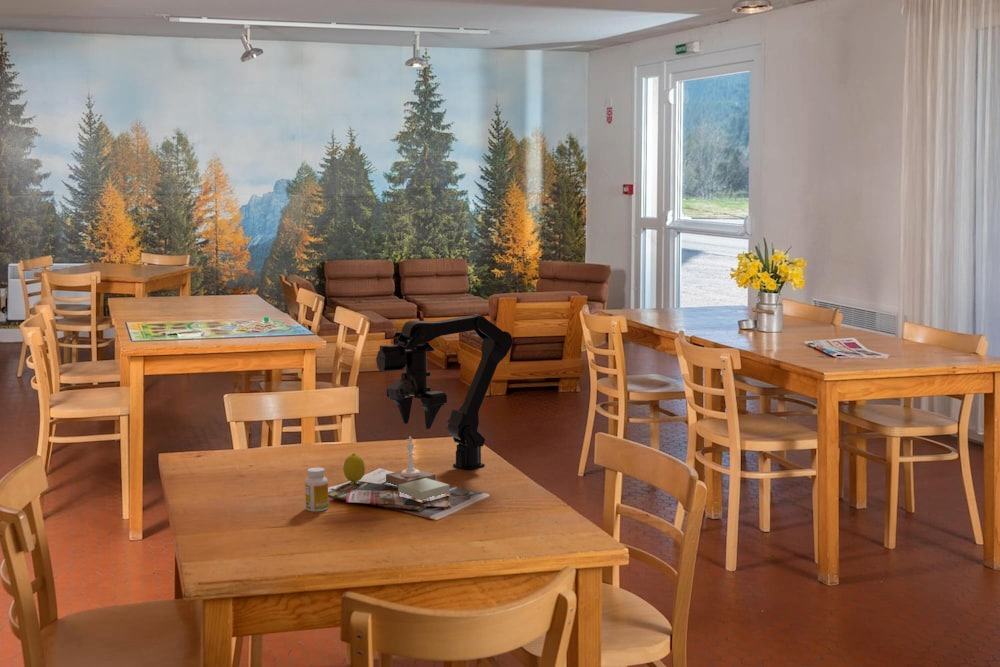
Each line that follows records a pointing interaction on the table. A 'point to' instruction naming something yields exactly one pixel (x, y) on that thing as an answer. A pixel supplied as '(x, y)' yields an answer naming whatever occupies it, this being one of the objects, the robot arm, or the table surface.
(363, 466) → the lemon
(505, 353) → the robot arm
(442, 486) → the sage slab
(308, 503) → the supplement bottle
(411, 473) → the chess piece
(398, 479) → the walnut slab
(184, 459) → the table surface
